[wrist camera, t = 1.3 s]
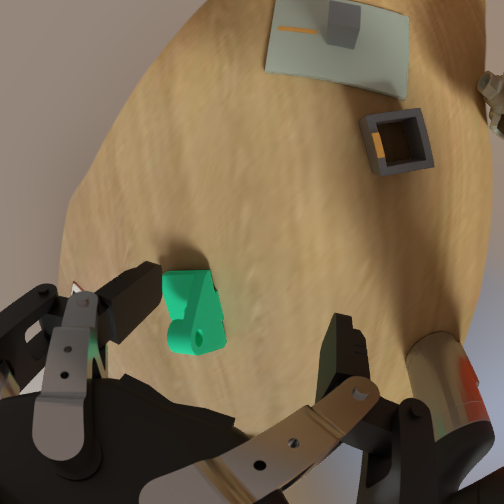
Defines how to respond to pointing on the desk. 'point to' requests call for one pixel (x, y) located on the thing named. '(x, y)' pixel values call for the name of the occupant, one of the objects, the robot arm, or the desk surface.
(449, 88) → the desk surface
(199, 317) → the camera mount
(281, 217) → the desk surface
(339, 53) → the grey base with post
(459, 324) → the desk surface
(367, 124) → the grey open box
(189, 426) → the robot arm
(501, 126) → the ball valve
